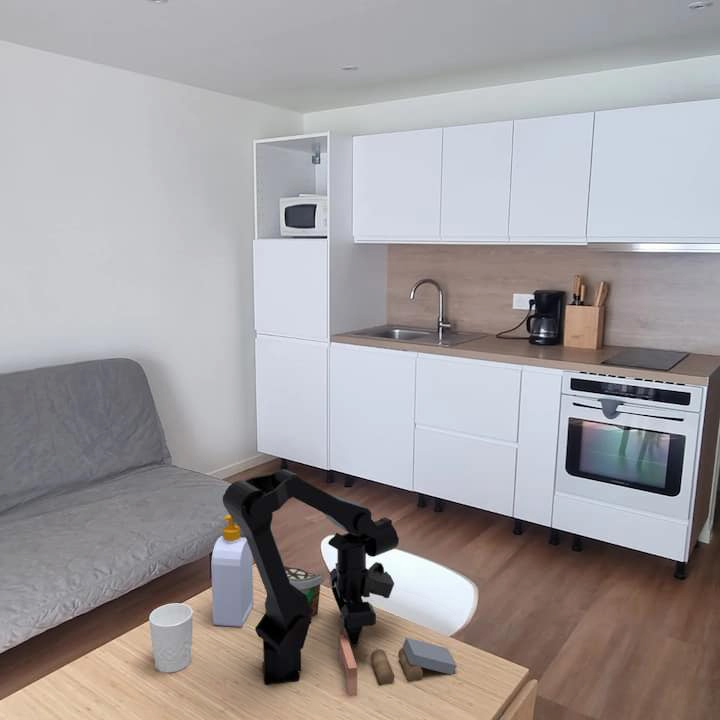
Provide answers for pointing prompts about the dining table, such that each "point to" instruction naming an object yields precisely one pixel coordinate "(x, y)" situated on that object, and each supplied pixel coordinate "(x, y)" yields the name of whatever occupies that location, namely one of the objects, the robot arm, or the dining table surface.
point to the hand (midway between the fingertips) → (351, 634)
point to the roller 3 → (410, 667)
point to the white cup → (171, 636)
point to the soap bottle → (231, 577)
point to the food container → (306, 585)
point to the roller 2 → (382, 667)
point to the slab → (429, 656)
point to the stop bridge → (348, 664)
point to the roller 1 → (348, 637)
